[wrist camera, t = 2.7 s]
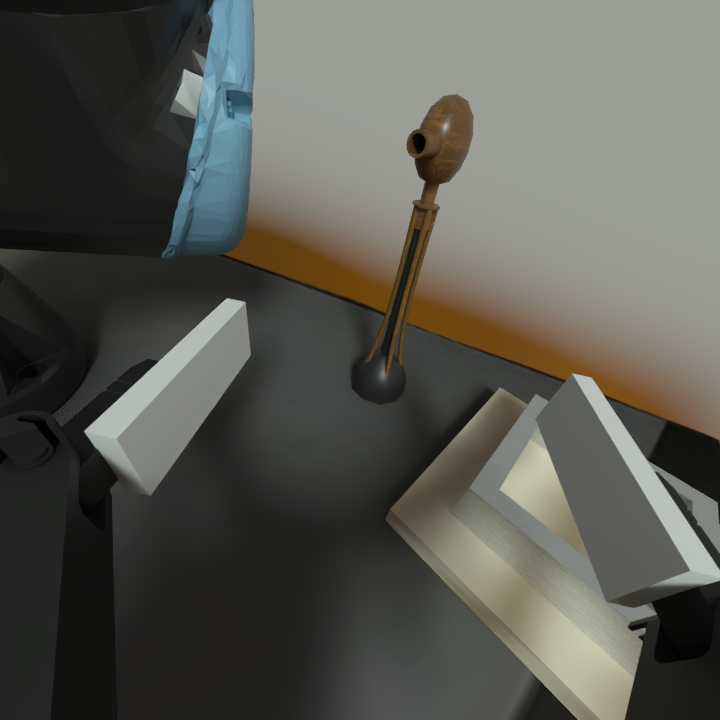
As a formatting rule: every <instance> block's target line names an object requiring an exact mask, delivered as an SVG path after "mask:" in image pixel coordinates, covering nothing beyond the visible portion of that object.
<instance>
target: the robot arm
mask: <svg viewBox="0 0 720 720" xmlns="http://www.w3.org/2000/svg"><path fill="white" fill-rule="evenodd" d="M253 11H254V10H253V1H252V0H0V248H2V249H20V250H38V251H56V252H74V253H93V254H111V255H129V256H147V257H161V258H162V259H170V258H173V257H175V256H190V255H221V254H225V253H227V252H229V251H231V250H233V249H234V248H235V247H237V246H238V244H239V243H240V241H241V240H242V238H243V235H244V231H245V227H246V220H247V213H248V201H249V190H250V174H251V156H252V122H251V117H250V115H251V112H252V105H253V82H254V12H253ZM250 356H251V352H250V342H249V332H248V322H247V312H246V302H242V301H238V300H233V299H229V298H227V299H225V300H224V301H223V302H222V303H221V304H220V305H219V306H218V307H217V308H216V309H215V310H214V311H213V312H212V313H210V314H209V315H208V316H207V317H206V318H205V319H204V320H203V321H202V322H201V323H200V324H199V325H198V326H196V327H195V328H194V329H193V330H192V331H191V332H190V333H189V334H188V335H187V336H186V337H185V338H184V339H183V340H181V341H180V342H179V343H178V344H177V345H176V346H175V347H174V348H173V349H172V350H171V351H170V352H169V353H168V354H166V355H165V356H164V357H163V358H162V359H161V360H160V361H155V360H150V359H147V360H145V361H143V362H141V363H139V364H137V365H135V366H133V367H131V368H130V369H129V370H127V371H126V372H125V373H124V374H123V375H122V376H120V377H119V378H118V379H117V382H114V383H112V384H111V385H110V386H109V387H108V388H107V389H106V391H105V392H104V391H103V392H102V393H101V394H100V395H98V396H97V397H96V398H95V399H94V400H93V401H91V402H90V403H89V404H88V405H87V406H86V407H85V408H83V409H82V410H81V411H80V412H79V413H78V414H76V415H75V416H74V417H73V418H72V419H71V420H69V421H68V422H67V423H66V424H65V425H64V426H62V427H61V426H60V425H59V424H58V422H57V421H56V420H55V418H54V417H53V416H52V415H50V414H51V413H52V412H53V411H54V410H55V409H57V408H58V407H59V406H60V405H61V404H62V403H63V402H64V401H65V400H66V399H67V398H68V397H69V396H70V395H71V394H72V393H73V392H74V390H75V389H76V388H77V386H78V385H79V383H80V382H81V380H82V378H83V376H84V374H85V372H86V369H87V364H88V357H87V353H86V350H85V348H84V346H83V344H82V342H81V341H80V339H79V337H78V335H77V333H76V332H75V330H74V328H73V327H72V326H71V324H70V323H69V322H68V321H67V320H66V319H65V318H64V317H62V316H61V315H60V314H59V313H58V312H57V311H55V310H54V309H53V308H52V307H51V306H49V305H48V304H47V303H46V302H45V301H44V300H42V299H41V298H40V297H39V296H38V295H36V294H35V293H34V292H33V291H32V290H31V289H29V288H28V287H27V286H26V285H25V284H23V283H22V282H21V281H20V280H19V279H18V278H16V277H15V276H14V275H13V274H12V273H10V272H9V271H8V270H7V269H6V268H5V267H3V266H2V265H1V264H0V720H117V708H116V664H115V621H114V577H113V533H112V496H111V493H110V488H111V487H112V486H113V485H114V484H115V482H116V481H117V480H118V481H119V482H120V483H121V485H122V486H123V488H124V489H125V490H128V491H132V492H137V493H141V494H145V495H150V496H151V495H152V493H153V492H154V490H155V489H156V488H157V486H158V485H159V483H160V482H161V481H162V479H163V478H164V476H165V475H166V474H167V472H168V471H169V469H170V468H171V467H172V465H173V464H174V462H175V461H176V460H177V458H178V457H179V455H180V454H181V453H182V451H183V450H184V448H185V447H186V446H187V444H188V443H189V441H190V440H191V439H192V437H193V436H194V434H195V433H196V432H197V430H198V429H199V427H200V426H201V425H202V423H203V422H204V420H205V419H206V417H207V416H208V415H209V413H210V412H211V410H212V409H213V408H214V406H215V405H216V403H217V402H218V401H219V399H220V398H221V396H222V395H223V394H224V392H225V391H226V389H227V388H228V387H229V385H230V384H231V382H232V381H233V380H234V378H235V377H236V375H237V374H238V373H239V371H240V370H241V368H242V367H243V366H244V364H245V363H246V361H247V360H248V359H249V357H250ZM535 419H536V422H537V424H538V427H539V430H540V432H541V435H542V437H543V440H544V442H545V445H546V448H547V450H548V453H549V455H550V458H551V461H552V463H553V466H554V468H555V471H556V474H557V476H558V479H559V481H560V484H561V486H562V489H563V492H564V494H565V497H566V499H567V502H568V505H569V507H570V510H571V512H572V515H573V517H574V520H575V523H576V525H577V528H578V530H579V533H580V536H581V538H582V541H583V543H584V546H585V548H586V551H587V554H588V556H589V559H590V561H591V564H592V567H593V569H594V572H595V574H596V577H597V579H598V582H599V585H600V587H601V590H602V592H603V595H604V598H605V600H606V602H609V603H613V604H617V605H622V606H626V607H630V608H636V607H639V606H642V605H645V604H649V603H652V605H653V607H654V609H655V611H656V613H657V615H653V616H650V617H646V618H643V619H639V620H636V621H632V622H630V624H629V625H628V628H629V629H630V630H631V631H634V630H638V629H642V628H646V631H645V634H643V635H640V636H638V638H639V639H641V640H642V641H643V644H642V648H641V652H640V656H639V661H638V665H637V669H636V673H635V678H634V682H633V686H632V690H631V694H630V699H629V703H628V707H627V711H626V715H625V720H720V553H719V552H718V550H717V549H716V547H715V546H714V545H713V543H712V542H711V540H710V539H709V537H708V536H707V534H706V533H705V532H704V530H703V529H702V527H701V526H699V525H698V524H697V522H698V521H697V520H696V519H695V517H694V516H693V514H692V513H691V511H689V510H687V506H686V504H685V503H684V501H683V500H682V498H681V497H680V495H679V494H678V493H677V491H676V490H675V488H674V487H673V486H671V485H670V484H669V483H668V482H667V481H666V480H665V479H664V478H663V477H662V476H661V475H660V474H659V473H658V472H655V471H653V469H652V468H651V466H650V465H649V463H648V462H647V460H646V459H645V457H644V456H643V454H642V453H641V451H640V450H639V448H638V447H637V445H636V444H635V442H634V441H633V439H632V438H631V436H630V435H629V433H628V432H627V430H626V429H625V427H624V426H623V424H622V423H621V421H620V420H619V418H618V417H617V415H616V414H615V412H614V411H613V409H612V408H611V406H610V405H609V403H608V402H607V400H606V399H605V397H604V396H603V394H602V393H601V391H600V390H599V388H598V387H597V385H596V383H595V382H594V381H593V379H592V378H590V377H585V376H581V375H576V374H572V375H571V376H570V377H569V378H568V379H567V381H566V382H565V383H564V384H563V385H562V387H561V388H560V389H559V390H558V392H557V393H556V394H555V395H554V396H553V398H552V399H551V400H550V401H549V402H548V404H547V405H546V406H545V407H544V408H543V410H542V411H541V412H540V413H539V415H538V416H537V417H536V418H535Z"/></svg>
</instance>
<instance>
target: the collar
mask: <svg viewBox="0 0 720 720" xmlns="http://www.w3.org/2000/svg"><path fill="white" fill-rule="evenodd" d="M547 404H548V401H547V400H545V399H543V398H542V397H540V396H538V395H537V394H536V395H535V396H534V397H533V399H532V400H531V401H530V403H529V404H528V405H527V406H526V408H525V409H524V410H523V412H522V413H521V414H520V415H519V417H518V418H517V419H516V421H515V422H514V424H513V425H512V426H511V428H510V429H509V430H508V432H507V433H506V435H505V436H504V437H503V439H502V440H501V442H500V443H499V444H498V446H497V447H496V449H495V450H494V451H493V453H492V454H491V455H490V457H489V458H488V460H487V461H486V462H485V464H484V465H483V467H482V468H481V469H480V471H479V472H478V474H477V475H476V476H475V478H474V479H473V481H472V482H471V483H470V485H469V486H468V487H467V489H466V490H465V492H464V493H463V494H462V496H461V497H460V499H459V500H458V501H457V503H456V504H455V506H454V507H453V508H452V510H451V511H450V513H451V514H452V515H453V516H455V517H456V518H457V519H458V520H459V521H460V522H461V523H462V524H463V525H465V526H466V527H467V528H468V529H469V530H470V531H471V532H472V533H473V534H475V535H476V536H477V537H478V538H479V539H480V540H481V541H482V542H483V543H485V544H486V545H487V546H488V547H489V548H490V549H491V550H492V551H493V552H495V553H496V554H497V555H498V556H499V557H500V558H501V559H502V560H503V561H505V562H506V563H507V564H508V565H509V566H510V567H511V568H512V569H513V570H514V571H516V572H517V573H518V574H519V575H520V576H521V577H522V578H523V579H524V580H526V581H527V582H528V583H529V584H530V585H531V586H532V587H533V588H534V589H536V590H537V591H538V592H539V593H540V594H541V595H542V596H543V597H544V598H546V599H547V600H548V601H549V602H550V603H551V604H552V605H553V606H554V607H556V608H557V609H558V610H559V611H560V612H561V613H562V614H563V615H564V616H566V617H567V618H568V619H569V620H570V621H571V622H572V623H573V624H574V625H576V626H577V627H578V628H579V629H580V630H581V631H582V632H583V633H584V634H586V635H587V636H588V637H589V638H590V639H591V640H592V641H593V642H594V643H596V644H597V645H598V646H599V647H600V648H601V649H602V650H603V651H604V652H606V653H607V654H608V655H609V656H610V657H611V658H612V659H613V660H614V661H616V662H617V663H618V664H619V665H620V666H621V667H622V668H623V669H624V670H626V671H627V672H628V673H629V674H630V675H631V676H632V677H633V678H635V673H636V669H637V665H638V661H639V656H640V652H641V648H642V644H643V641H642V640H641V639H639V638H638V636H640V635H643V634H645V631H646V628H642V629H638V630H634V631H631V630H630V629H629V628H628V625H629V624H630V622H632V621H636V620H639V619H643V618H646V617H650V616H653V615H657V613H656V611H655V609H654V607H653V605H652V603H649V604H645V605H642V606H639V607H636V608H630V607H626V606H622V605H617V604H613V603H609V602H606V600H605V598H604V595H603V592H602V590H601V587H600V585H599V582H598V579H597V577H596V574H595V572H594V569H593V567H592V564H591V561H589V560H588V559H587V558H586V557H584V556H583V555H582V554H580V553H579V552H578V551H577V550H575V549H574V548H573V547H572V546H570V545H569V544H568V543H567V542H565V541H564V540H563V539H561V538H560V537H559V536H558V535H556V534H555V533H554V532H553V531H551V530H550V529H549V528H548V527H546V526H545V525H544V524H542V523H541V522H540V521H539V520H537V519H536V518H535V517H534V516H532V515H531V514H530V513H529V512H527V511H526V510H525V509H523V508H522V507H521V506H520V505H518V504H517V503H516V502H515V501H513V500H512V499H511V498H510V497H508V496H507V495H506V494H504V493H503V492H502V491H501V490H499V489H500V487H501V486H502V484H503V483H504V481H505V479H506V478H507V476H508V474H509V473H510V471H511V470H512V468H513V466H514V465H515V463H516V461H517V460H518V458H519V457H520V455H521V453H522V452H523V450H524V448H525V447H526V445H527V443H528V442H529V440H531V441H533V442H534V443H536V444H537V445H539V446H540V447H542V448H543V449H545V450H546V451H548V450H547V448H546V445H545V442H544V440H543V437H542V435H541V432H540V430H539V427H538V424H537V422H536V419H535V418H536V417H537V416H538V415H539V413H540V412H541V411H542V410H543V408H544V407H545V406H546V405H547ZM647 462H648V463H649V465H650V466H651V468H652V469H653V471H655V472H658V473H659V474H660V475H661V476H662V477H663V478H664V479H665V480H666V481H667V482H668V483H669V484H670V485H671V486H673V487H674V488H675V490H676V491H677V493H678V494H679V495H680V497H681V498H682V500H683V501H684V503H685V504H686V506H687V510H689V511H691V513H692V514H693V516H694V517H695V519H696V520H697V521H698V522H697V524H698V525H699V526H701V527H702V529H703V530H704V532H705V533H706V534H707V536H708V537H709V539H710V540H711V542H712V543H713V545H714V546H715V547H716V549H717V550H718V552H719V553H720V530H719V516H718V503H717V502H716V501H714V500H712V499H711V498H709V497H707V496H706V495H704V494H702V493H701V492H699V491H697V490H696V489H694V488H692V487H691V486H689V485H687V484H686V483H684V482H682V481H680V480H679V479H677V478H675V477H674V476H672V475H670V474H669V473H667V472H665V471H664V470H662V469H660V468H659V467H657V466H655V465H654V464H652V463H650V462H649V461H647Z"/></svg>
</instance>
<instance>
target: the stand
mask: <svg viewBox="0 0 720 720" xmlns="http://www.w3.org/2000/svg"><path fill="white" fill-rule="evenodd" d="M526 406H527V404H526V403H524V402H523V401H521V400H519V399H518V398H516V397H514V396H513V395H511V394H510V393H508V392H506V391H505V390H503V389H502V388H499V389H498V390H497V392H496V393H495V394H494V395H493V396H492V397H491V398H490V399H489V400H488V402H487V403H486V404H485V405H484V406H483V407H482V408H481V409H480V410H479V411H478V413H477V414H476V415H475V416H474V417H473V418H472V419H471V420H470V421H469V423H468V424H467V425H466V426H465V427H464V428H463V429H462V430H461V431H460V433H459V434H458V435H457V436H456V437H455V438H454V439H453V440H452V441H451V442H450V444H449V445H448V446H447V447H446V448H445V449H444V450H443V451H442V452H441V454H440V455H439V456H438V457H437V458H436V459H435V460H434V461H433V462H432V464H431V465H430V466H429V467H428V468H427V469H426V470H425V471H424V472H423V473H422V475H421V476H420V477H419V478H418V479H417V480H416V481H415V482H414V483H413V485H412V486H411V487H410V488H409V489H408V490H407V491H406V492H405V493H404V495H403V496H402V497H401V498H400V499H399V500H398V501H397V502H396V503H395V504H394V506H393V507H392V508H391V509H390V511H389V513H388V515H387V517H386V519H385V521H386V522H387V523H388V524H389V525H390V526H391V527H392V528H393V529H394V530H395V531H396V532H397V533H398V534H399V535H400V536H401V537H402V538H403V539H404V540H405V541H406V542H407V543H408V544H409V545H410V547H411V548H412V549H413V550H414V551H415V552H416V553H417V554H418V555H419V556H420V557H421V558H422V559H423V560H424V561H425V562H426V563H427V564H428V565H429V566H430V567H431V568H432V569H433V570H434V571H435V572H436V573H437V574H438V575H439V577H440V578H441V579H442V580H443V581H444V582H445V583H446V584H447V585H448V586H449V587H450V588H451V589H452V590H453V591H454V592H455V593H456V594H457V595H458V596H459V597H460V598H461V599H462V600H463V601H464V602H465V603H466V604H467V605H468V606H469V608H470V609H471V610H472V611H473V612H474V613H475V614H476V615H477V616H478V617H479V618H480V619H481V620H482V621H483V622H484V623H485V624H486V625H487V626H488V627H489V628H490V629H491V630H492V631H493V632H494V633H495V634H496V635H497V636H498V637H499V639H500V640H501V641H502V642H503V643H504V644H505V645H506V646H507V647H508V648H509V649H510V650H511V651H512V652H513V653H514V654H515V655H516V656H517V657H518V658H519V659H520V660H521V661H522V662H523V663H524V664H525V665H526V666H527V667H528V669H529V670H530V671H531V672H532V673H533V674H534V675H535V676H536V677H537V678H538V679H539V680H540V681H541V682H542V683H543V684H544V685H545V686H546V687H547V688H548V689H549V690H550V691H551V692H552V693H553V694H554V695H555V696H556V697H557V698H558V700H559V701H560V702H561V703H562V704H563V705H564V706H565V707H566V708H567V709H568V710H569V711H570V712H571V713H572V714H573V715H574V716H575V717H576V718H577V719H578V720H625V715H626V711H627V707H628V703H629V699H630V694H631V690H632V686H633V682H634V678H633V677H632V676H631V675H630V674H629V673H628V672H627V671H626V670H624V669H623V668H622V667H621V666H620V665H619V664H618V663H617V662H616V661H614V660H613V659H612V658H611V657H610V656H609V655H608V654H607V653H606V652H604V651H603V650H602V649H601V648H600V647H599V646H598V645H597V644H596V643H594V642H593V641H592V640H591V639H590V638H589V637H588V636H587V635H586V634H584V633H583V632H582V631H581V630H580V629H579V628H578V627H577V626H576V625H574V624H573V623H572V622H571V621H570V620H569V619H568V618H567V617H566V616H564V615H563V614H562V613H561V612H560V611H559V610H558V609H557V608H556V607H554V606H553V605H552V604H551V603H550V602H549V601H548V600H547V599H546V598H544V597H543V596H542V595H541V594H540V593H539V592H538V591H537V590H536V589H534V588H533V587H532V586H531V585H530V584H529V583H528V582H527V581H526V580H524V579H523V578H522V577H521V576H520V575H519V574H518V573H517V572H516V571H514V570H513V569H512V568H511V567H510V566H509V565H508V564H507V563H506V562H505V561H503V560H502V559H501V558H500V557H499V556H498V555H497V554H496V553H495V552H493V551H492V550H491V549H490V548H489V547H488V546H487V545H486V544H485V543H483V542H482V541H481V540H480V539H479V538H478V537H477V536H476V535H475V534H473V533H472V532H471V531H470V530H469V529H468V528H467V527H466V526H465V525H463V524H462V523H461V522H460V521H459V520H458V519H457V518H456V517H455V516H453V515H452V514H451V513H450V511H451V510H452V508H453V507H454V506H455V504H456V503H457V501H458V500H459V499H460V497H461V496H462V494H463V493H464V492H465V490H466V489H467V487H468V486H469V485H470V483H471V482H472V481H473V479H474V478H475V476H476V475H477V474H478V472H479V471H480V469H481V468H482V467H483V465H484V464H485V462H486V461H487V460H488V458H489V457H490V455H491V454H492V453H493V451H494V450H495V449H496V447H497V446H498V444H499V443H500V442H501V440H502V439H503V437H504V436H505V435H506V433H507V432H508V430H509V429H510V428H511V426H512V425H513V424H514V422H515V421H516V419H517V418H518V417H519V415H520V414H521V413H522V412H523V410H524V409H525V408H526ZM499 490H501V491H502V492H503V493H504V494H506V495H507V496H508V497H510V498H511V499H512V500H513V501H515V502H516V503H517V504H518V505H520V506H521V507H522V508H523V509H525V510H526V511H527V512H529V513H530V514H531V515H532V516H534V517H535V518H536V519H537V520H539V521H540V522H541V523H542V524H544V525H545V526H546V527H548V528H549V529H550V530H551V531H553V532H554V533H555V534H556V535H558V536H559V537H560V538H561V539H563V540H564V541H565V542H567V543H568V544H569V545H570V546H572V547H573V548H574V549H575V550H577V551H578V552H579V553H580V554H582V555H583V556H584V557H586V558H587V559H588V560H589V561H590V559H589V556H588V554H587V551H586V548H585V546H584V543H583V541H582V538H581V536H580V533H579V530H578V528H577V525H576V523H575V520H574V517H573V515H572V512H571V510H570V507H569V505H568V502H567V499H566V497H565V494H564V492H563V489H562V486H561V484H560V481H559V479H558V476H557V474H556V471H555V468H554V466H553V463H552V461H551V458H550V455H549V453H548V451H546V450H545V449H543V448H542V447H540V446H539V445H537V444H536V443H534V442H533V441H531V440H529V442H528V443H527V445H526V447H525V448H524V450H523V452H522V453H521V455H520V457H519V458H518V460H517V461H516V463H515V465H514V466H513V468H512V470H511V471H510V473H509V474H508V476H507V478H506V479H505V481H504V483H503V484H502V486H501V487H500V489H499ZM719 530H720V524H719Z"/></svg>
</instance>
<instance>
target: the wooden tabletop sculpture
mask: <svg viewBox="0 0 720 720" xmlns="http://www.w3.org/2000/svg"><path fill="white" fill-rule="evenodd" d="M472 135H473V114H472V111H471V108H470V106H469V103H468V101H467V100H465V99H464V98H462V97H461V96H459V95H458V94H456V95H448V96H443V97H442V98H441V99H440V100H439V101H437V102H436V103H435V104H434V105H433V106H431V108H430V109H429V111H428V114H427V115H426V117H425V119H424V120H423V122H422V124H421V127H420V129H417V130H414V131H413V132H412V133H411V134H410V135H409V137H408V140H407V151H408V153H409V154H410V156H412V157H413V158H415V165H416V169H417V172H418V176H419V177H420V178H421V179H423V180H424V181H425V184H424V188H423V192H422V196H421V200H415V201H413V204H414V209H413V213H412V217H411V221H410V225H409V229H408V233H407V237H406V241H405V245H404V249H403V253H402V257H401V261H400V265H399V269H398V272H397V276H396V280H395V283H394V287H393V291H392V295H391V298H390V301H389V304H388V308H387V311H386V314H385V317H384V320H383V323H382V325H381V328H380V331H379V333H378V336H377V339H376V341H375V343H374V345H373V348H372V350H371V352H369V353H367V354H366V355H365V356H364V357H363V358H362V359H360V361H359V362H358V363H357V364H356V365H355V367H354V370H353V373H352V389H353V390H354V391H355V392H356V393H357V394H358V395H359V396H360V397H361V398H362V399H363V400H367V401H370V402H373V403H376V404H379V405H381V404H386V403H391V402H396V401H397V399H398V398H399V397H400V396H401V394H402V393H403V392H404V388H405V384H406V378H405V373H404V368H403V364H402V349H403V340H404V334H405V329H406V323H407V319H408V314H409V310H410V306H411V302H412V298H413V294H414V290H415V287H416V283H417V280H418V276H419V273H420V269H421V266H422V262H423V259H424V256H425V252H426V249H427V245H428V242H429V239H430V235H431V232H432V229H433V225H434V222H435V219H436V215H437V212H438V210H439V209H440V207H439V206H438V205H437V204H434V201H435V197H436V194H437V190H438V187H439V184H442V183H446V182H449V181H450V180H451V179H452V178H453V177H454V175H455V174H456V173H457V172H458V171H459V170H460V168H461V166H462V164H463V162H464V160H465V158H466V156H467V154H468V151H469V147H470V143H471V140H472ZM410 286H411V287H410ZM407 297H408V298H407ZM406 301H407V303H406ZM405 304H406V307H405ZM392 307H393V308H392ZM404 308H405V312H404ZM391 310H392V312H391ZM403 312H404V316H403V321H402V326H401V333H400V339H399V348H398V357H396V356H395V355H394V354H393V352H394V348H395V344H396V340H397V335H398V331H399V327H400V323H401V320H402V315H403ZM390 313H391V315H390ZM389 316H390V319H389ZM388 319H389V323H388V327H387V330H386V333H385V336H384V339H383V342H382V345H381V348H380V350H376V349H377V347H378V345H379V343H380V340H381V338H382V335H383V332H384V330H385V327H386V325H387V322H388Z"/></svg>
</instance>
